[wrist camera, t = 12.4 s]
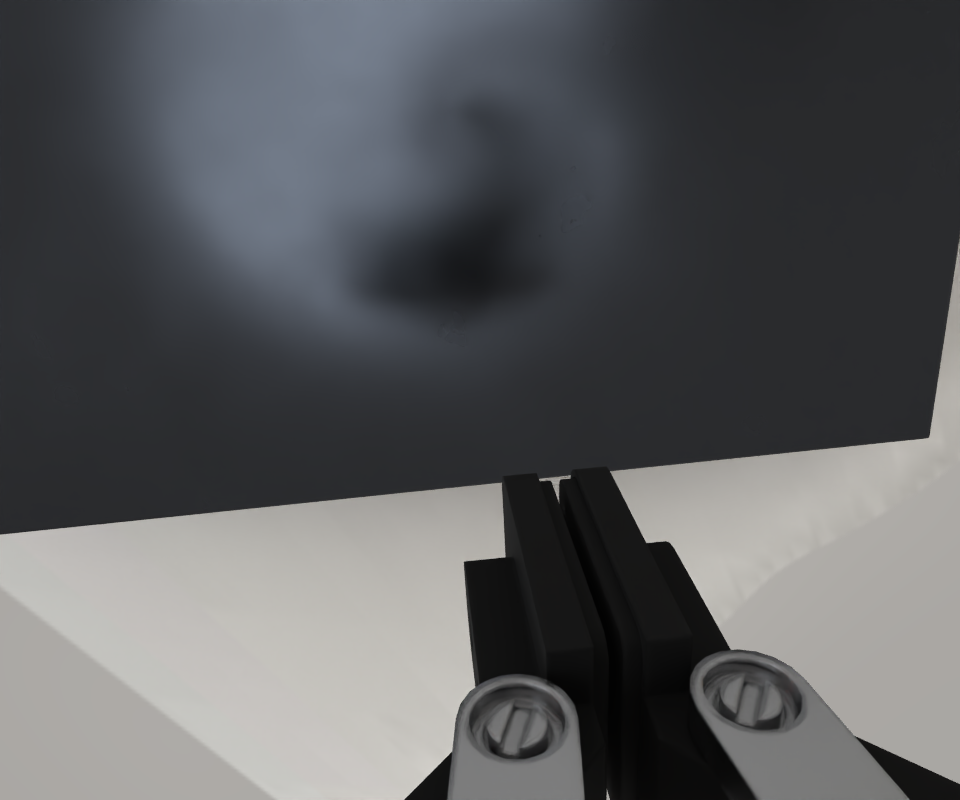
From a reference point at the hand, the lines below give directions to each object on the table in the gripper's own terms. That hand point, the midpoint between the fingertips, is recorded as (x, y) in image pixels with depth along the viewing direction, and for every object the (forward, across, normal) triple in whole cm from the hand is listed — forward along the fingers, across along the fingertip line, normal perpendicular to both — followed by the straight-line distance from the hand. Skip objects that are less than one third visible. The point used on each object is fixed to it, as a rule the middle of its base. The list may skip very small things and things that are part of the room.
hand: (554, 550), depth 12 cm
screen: (+12, +1, -6) cm, 14 cm away
